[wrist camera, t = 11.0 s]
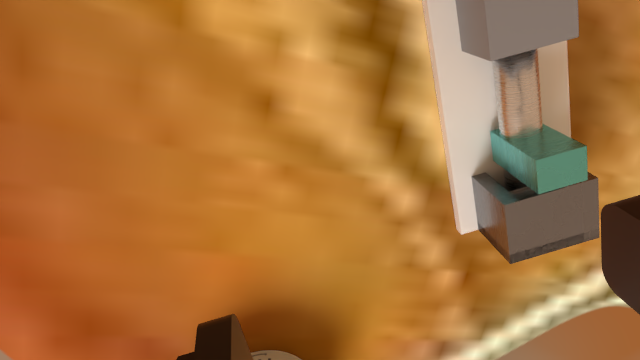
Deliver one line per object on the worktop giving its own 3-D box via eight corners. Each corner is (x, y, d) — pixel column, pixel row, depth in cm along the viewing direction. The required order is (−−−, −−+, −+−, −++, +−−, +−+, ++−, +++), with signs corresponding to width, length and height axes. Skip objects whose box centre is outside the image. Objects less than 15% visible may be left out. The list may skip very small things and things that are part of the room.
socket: (471, 176, 41) (504, 205, 36) (554, 152, 41) (598, 177, 36) (478, 229, 43) (510, 264, 38) (556, 206, 43) (599, 237, 38)
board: (415, -45, 35) (446, -48, 30) (553, -82, 35) (607, -91, 30) (456, 229, 44) (485, 263, 39) (566, 196, 44) (610, 226, 39)
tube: (479, 39, 37) (527, 54, 30) (525, 27, 37) (583, 38, 31) (498, 209, 42) (542, 250, 36) (538, 197, 42) (589, 236, 36)
